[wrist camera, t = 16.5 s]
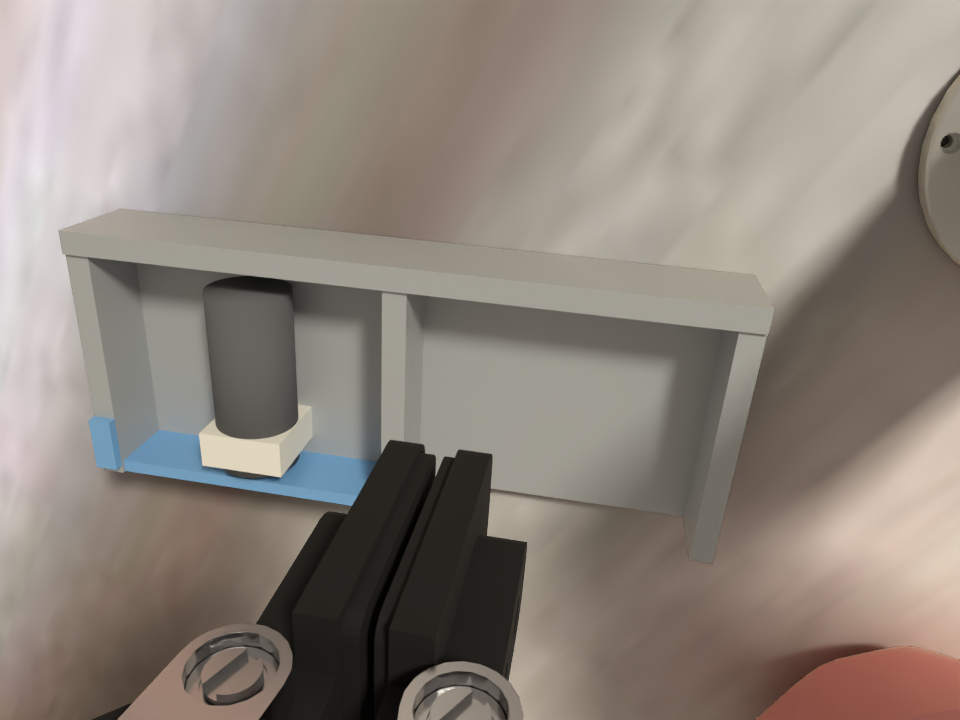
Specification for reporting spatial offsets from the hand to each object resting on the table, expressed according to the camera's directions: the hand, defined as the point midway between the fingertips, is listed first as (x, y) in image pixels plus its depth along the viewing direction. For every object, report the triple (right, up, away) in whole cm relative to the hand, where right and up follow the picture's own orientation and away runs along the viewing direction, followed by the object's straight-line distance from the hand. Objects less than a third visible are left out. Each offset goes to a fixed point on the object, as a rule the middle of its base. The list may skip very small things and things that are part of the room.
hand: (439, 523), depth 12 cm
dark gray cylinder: (-11, +2, +28) cm, 30 cm away
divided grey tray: (-3, +3, +29) cm, 30 cm away
